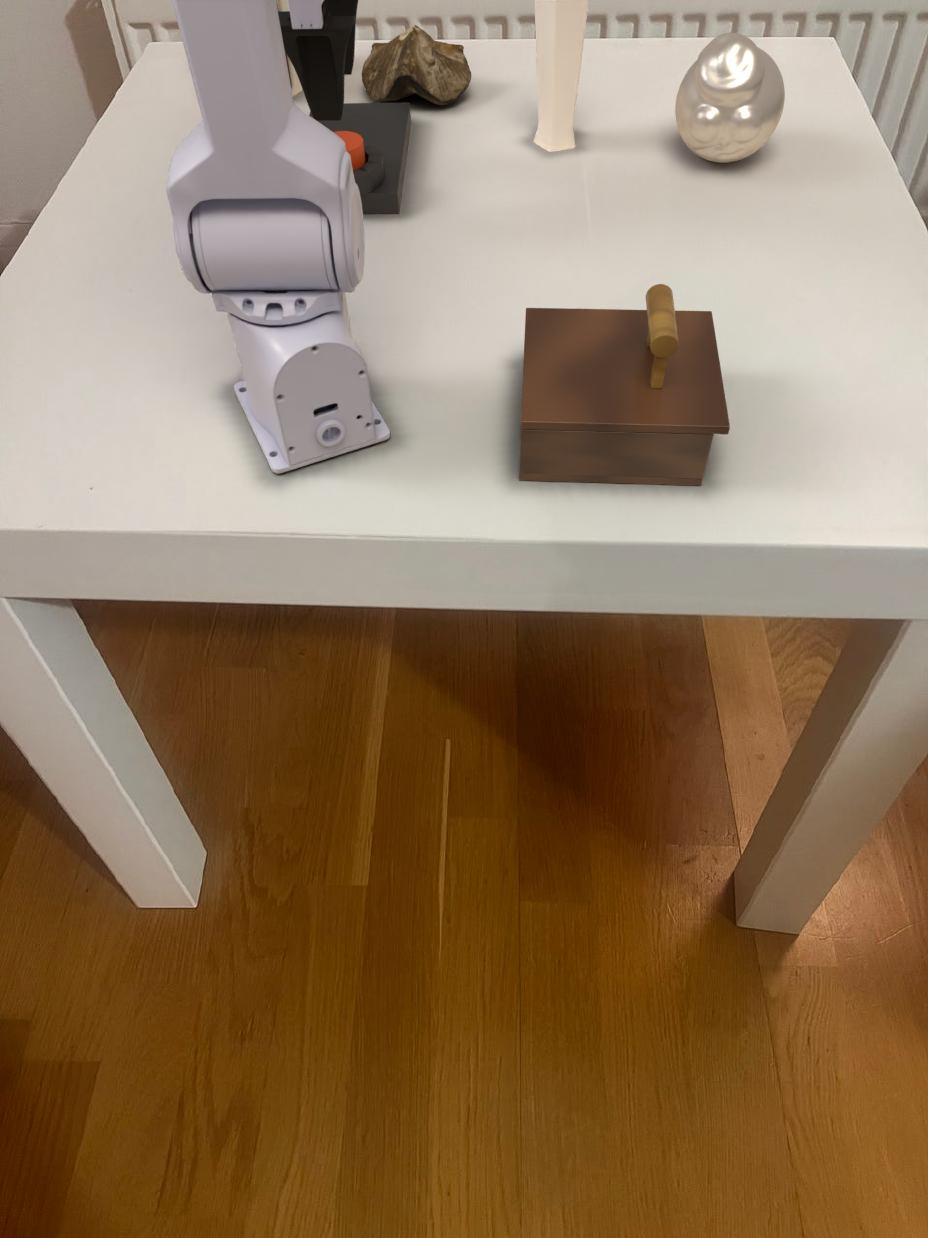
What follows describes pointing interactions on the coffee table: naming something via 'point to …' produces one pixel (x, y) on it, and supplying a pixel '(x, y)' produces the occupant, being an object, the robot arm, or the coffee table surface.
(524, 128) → the coffee table surface
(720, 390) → the case lid
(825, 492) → the coffee table surface
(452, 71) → the fossilized seashell
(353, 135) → the button
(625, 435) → the wooden case
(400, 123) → the control box
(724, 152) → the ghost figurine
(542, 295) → the coffee table surface
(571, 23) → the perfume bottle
